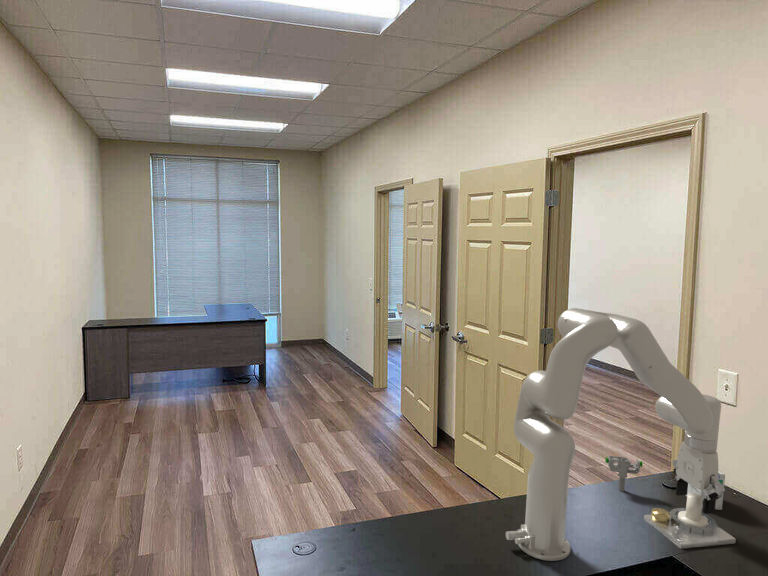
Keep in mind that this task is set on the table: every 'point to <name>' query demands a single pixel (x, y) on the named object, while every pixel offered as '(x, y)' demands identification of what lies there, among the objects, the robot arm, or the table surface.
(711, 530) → the carrier plate
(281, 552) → the table surface
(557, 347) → the robot arm
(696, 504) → the white door knob
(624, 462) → the mechanical component
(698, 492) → the light bulb box
